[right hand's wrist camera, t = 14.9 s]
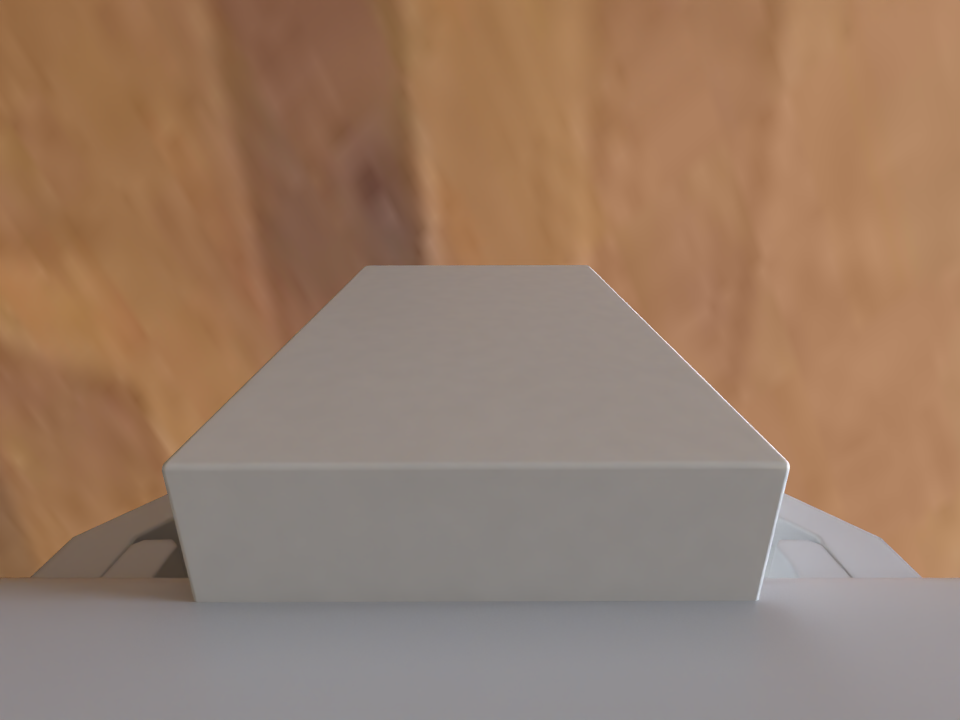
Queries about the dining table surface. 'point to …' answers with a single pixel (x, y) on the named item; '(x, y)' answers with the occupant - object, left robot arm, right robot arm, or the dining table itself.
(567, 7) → the dining table surface
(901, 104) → the dining table surface
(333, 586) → the bar
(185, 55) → the dining table surface
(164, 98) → the dining table surface
